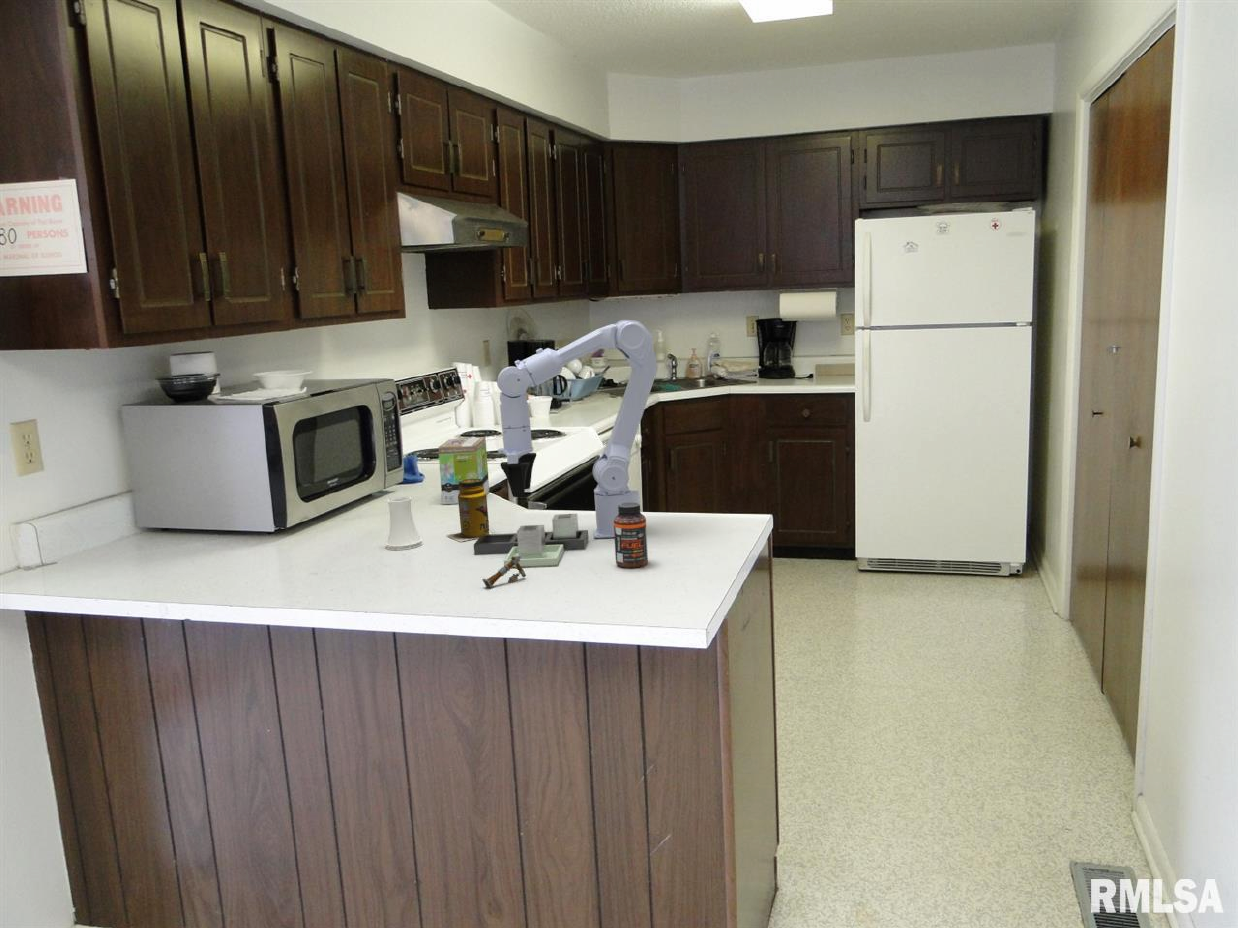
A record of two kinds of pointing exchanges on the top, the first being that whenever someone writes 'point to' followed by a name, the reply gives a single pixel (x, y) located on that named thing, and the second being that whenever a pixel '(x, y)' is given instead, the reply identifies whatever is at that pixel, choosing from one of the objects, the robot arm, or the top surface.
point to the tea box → (462, 465)
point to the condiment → (472, 510)
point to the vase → (402, 525)
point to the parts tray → (551, 558)
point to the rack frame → (507, 541)
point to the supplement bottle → (630, 536)
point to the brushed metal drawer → (565, 526)
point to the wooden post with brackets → (503, 570)
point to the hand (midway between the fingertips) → (521, 492)
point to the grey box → (531, 541)
